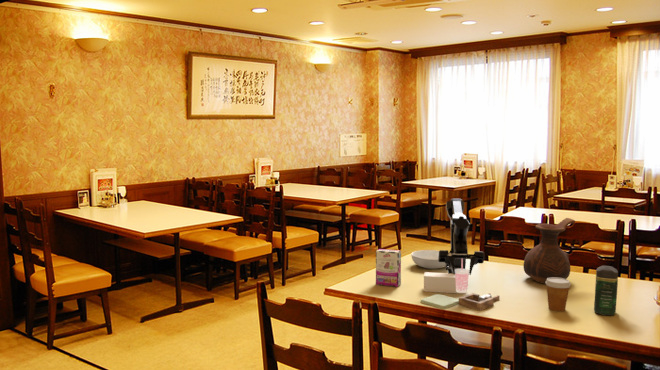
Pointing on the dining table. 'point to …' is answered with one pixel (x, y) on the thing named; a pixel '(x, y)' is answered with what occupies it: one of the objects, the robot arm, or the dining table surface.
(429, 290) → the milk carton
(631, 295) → the dining table surface
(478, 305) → the brown wooden tray
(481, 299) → the key bar
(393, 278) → the candy bar box
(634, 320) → the dining table surface
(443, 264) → the serving bowl
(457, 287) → the beverage cup
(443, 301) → the pale green square pad
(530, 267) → the jug
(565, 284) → the disposable coffee cup
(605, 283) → the coffee jar
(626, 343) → the dining table surface
